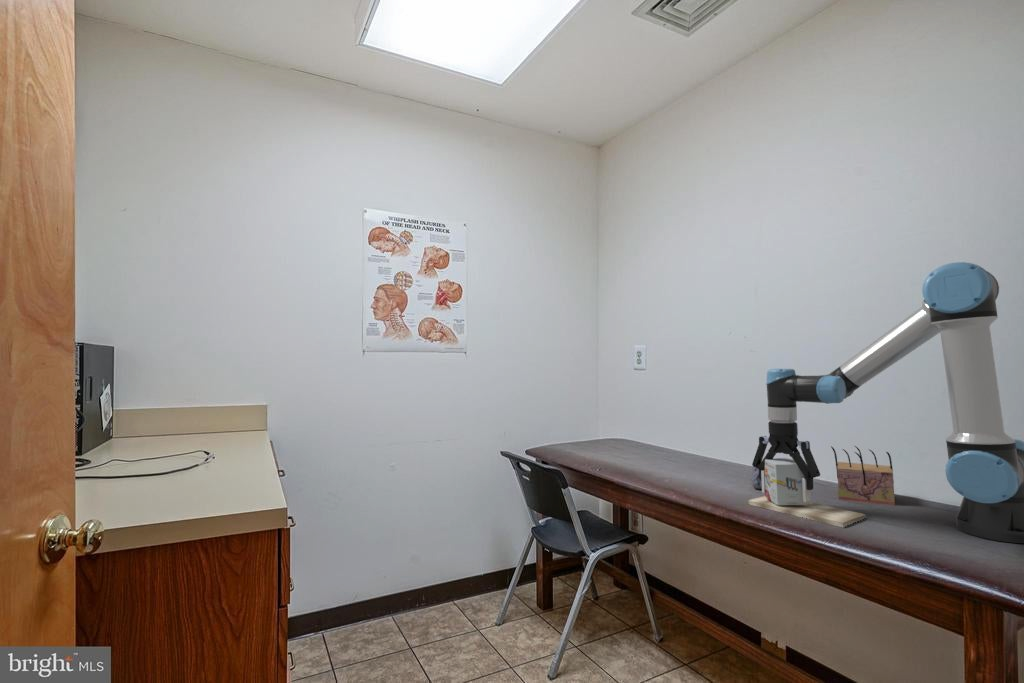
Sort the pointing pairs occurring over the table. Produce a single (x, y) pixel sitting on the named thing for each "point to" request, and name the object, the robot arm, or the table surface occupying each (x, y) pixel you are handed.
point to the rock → (756, 478)
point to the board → (812, 512)
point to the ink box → (783, 482)
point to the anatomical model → (865, 481)
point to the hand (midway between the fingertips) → (785, 496)
